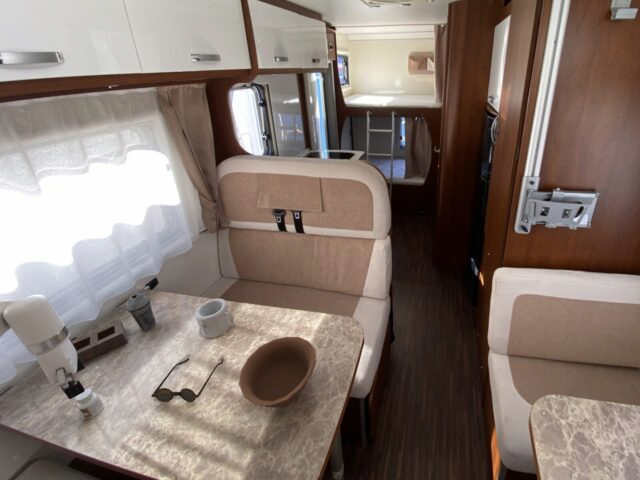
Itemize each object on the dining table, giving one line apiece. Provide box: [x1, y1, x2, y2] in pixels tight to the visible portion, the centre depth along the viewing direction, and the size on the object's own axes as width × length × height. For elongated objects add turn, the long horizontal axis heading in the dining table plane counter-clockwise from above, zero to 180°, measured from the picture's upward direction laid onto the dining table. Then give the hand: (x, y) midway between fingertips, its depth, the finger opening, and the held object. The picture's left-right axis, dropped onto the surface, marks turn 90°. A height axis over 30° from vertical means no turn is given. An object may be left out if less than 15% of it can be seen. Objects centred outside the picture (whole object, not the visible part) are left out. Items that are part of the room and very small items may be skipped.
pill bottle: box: [75, 388, 105, 420], centre depth 88 cm, size 4×4×8 cm
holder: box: [70, 319, 128, 365], centre depth 110 cm, size 16×9×5 cm, turn 133°
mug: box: [194, 298, 235, 339], centre depth 116 cm, size 14×11×10 cm
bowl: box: [238, 336, 317, 409], centre depth 91 cm, size 22×22×11 cm
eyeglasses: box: [151, 357, 224, 403], centre depth 97 cm, size 15×15×5 cm
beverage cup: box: [126, 283, 157, 332], centre depth 116 cm, size 7×7×20 cm
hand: (77, 382), depth 85 cm, fingers open, 9 cm apart
